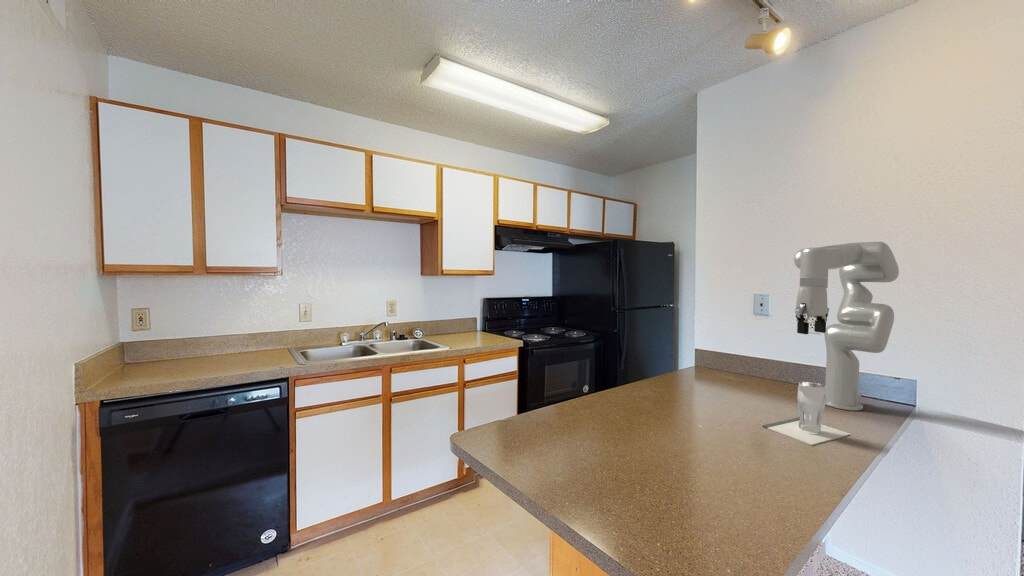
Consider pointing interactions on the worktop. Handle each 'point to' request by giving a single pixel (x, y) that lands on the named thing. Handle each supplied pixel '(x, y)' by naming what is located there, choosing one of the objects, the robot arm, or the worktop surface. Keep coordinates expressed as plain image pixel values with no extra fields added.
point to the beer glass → (811, 407)
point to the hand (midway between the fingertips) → (811, 332)
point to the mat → (792, 431)
